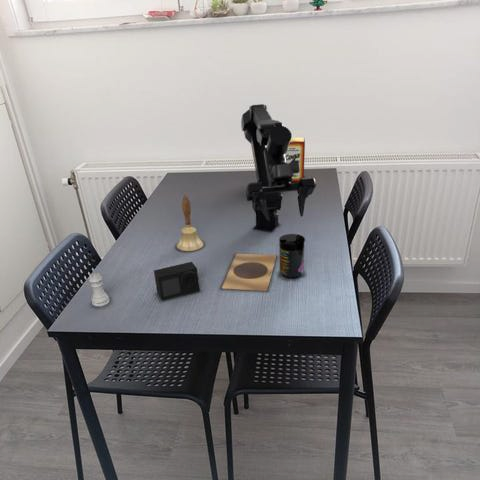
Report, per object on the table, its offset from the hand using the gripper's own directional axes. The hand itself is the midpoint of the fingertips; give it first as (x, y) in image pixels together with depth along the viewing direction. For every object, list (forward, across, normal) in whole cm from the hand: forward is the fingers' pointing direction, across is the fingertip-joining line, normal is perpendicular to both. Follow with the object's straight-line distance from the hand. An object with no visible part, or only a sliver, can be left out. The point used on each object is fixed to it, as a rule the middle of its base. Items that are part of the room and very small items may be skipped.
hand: (285, 217), depth 130 cm
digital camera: (+17, -31, +2) cm, 36 cm away
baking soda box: (-41, +20, +60) cm, 76 cm away
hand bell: (-3, -26, +22) cm, 34 cm away
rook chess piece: (+17, -51, +2) cm, 54 cm away
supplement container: (+15, 0, +4) cm, 15 cm away
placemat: (+12, -11, +7) cm, 17 cm away
